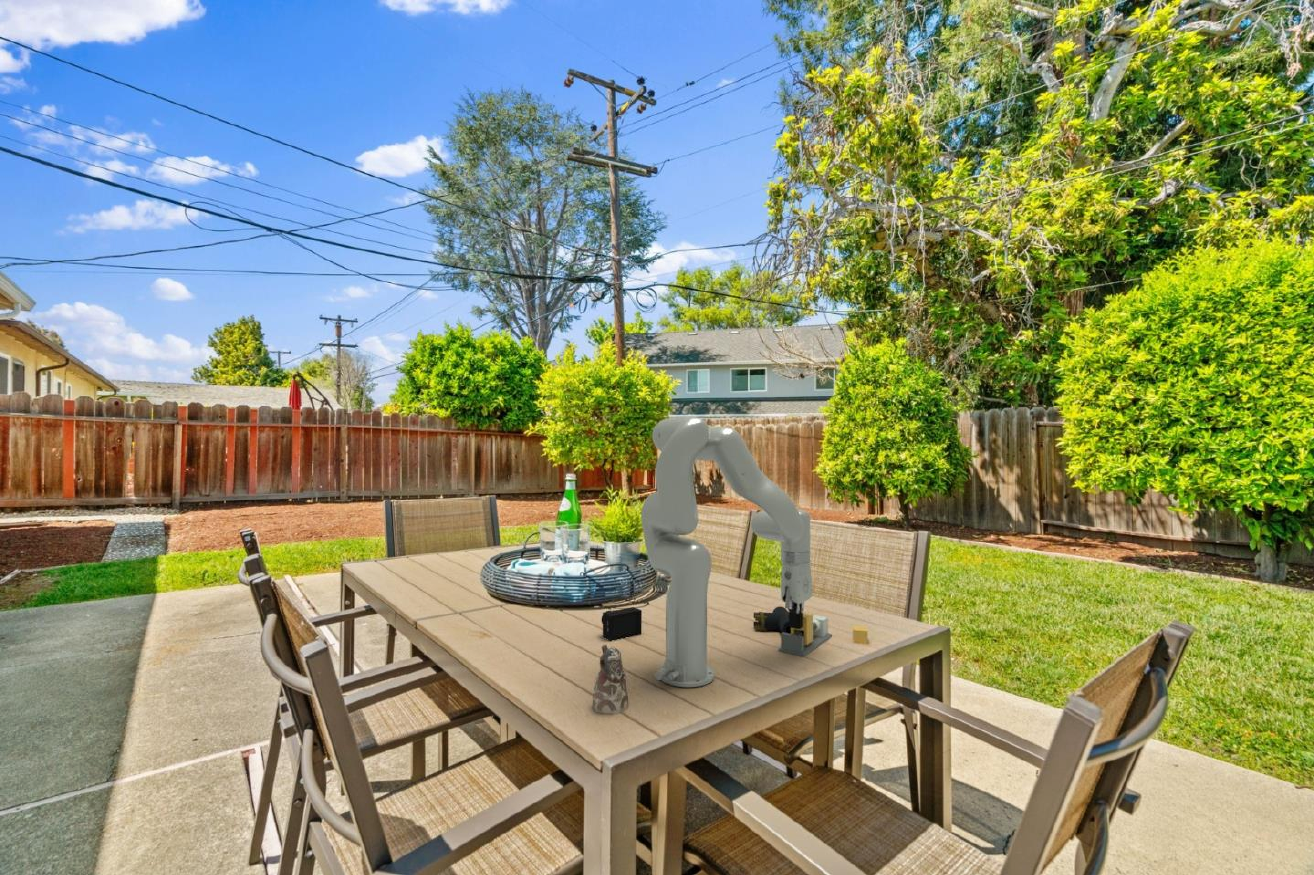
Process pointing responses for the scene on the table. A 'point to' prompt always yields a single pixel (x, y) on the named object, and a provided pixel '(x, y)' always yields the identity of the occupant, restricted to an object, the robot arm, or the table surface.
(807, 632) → the yellow sliding block
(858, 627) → the mustard yellow cube
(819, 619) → the grey slider rail base
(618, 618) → the digital camera
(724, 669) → the table surface
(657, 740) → the table surface
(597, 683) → the figurine
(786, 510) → the robot arm
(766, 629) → the pipe connector
